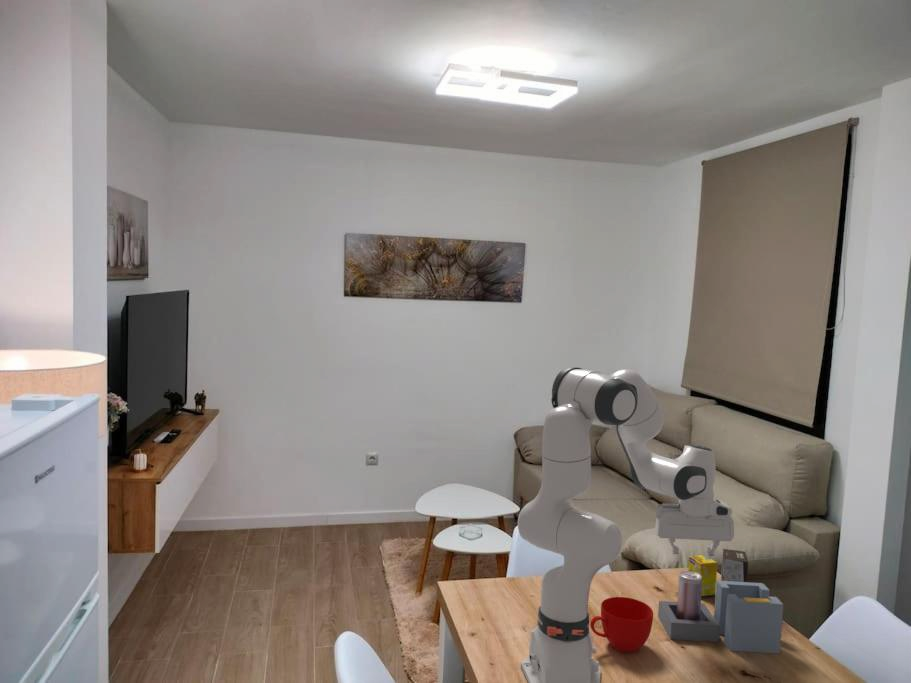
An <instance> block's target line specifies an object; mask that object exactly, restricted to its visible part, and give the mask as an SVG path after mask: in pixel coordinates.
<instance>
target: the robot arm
mask: <svg viewBox="0 0 911 683" xmlns="http://www.w3.org/2000/svg"><path fill="white" fill-rule="evenodd" d="M551 405H552V409H551V410H549V411H548V412H547V414H546V415H545V418H544V423H543V430H542V441H541V456H542V458H541V460H542V462H541V464H542V466H541V467H542V472H541V474H542V476H541V485H540V488H539V491H538V493H537V495H536V496H535V498H533V500H530V501H529V502H528V503H526V504H525V505H524V506H523V507H522V508H521V510H520V511H519V514H518V518H517V530H518V533H519V535H520V537H521V538H522V539H523V540H524V541H526V542H528V543H529V544H532V545H533V546H535V547H536V548H538V549H543V550H545V551H547V552H548V551H549V552H551V553H554V554H558V555H561V556H563V564H562V565H559V566H556V567H552V568H551V569H549V570H548V571H546V573H545V574H544V576H543V577H542V579H541V590H540V606H539V607H538V612H537V626H536V627H535V628H533V629H532V630H531V631H530V639H529V641H530V642H529V650H528V652H529V653H528V658H527V657H526V658H524V659H522V660H521V662H520V668H521V669H522V672H523V675H524V676H525V679H526V681H527V683H601V674H602V672H601V671H602V670H601V666H600V664H599V662H600V661H599V660H596V659H594V658H592V657H593V654H597V647H595V646H594V645H593V644H594V643H593V642H594V635H593V634H592V633H591V632H590V613H589V611H588V609H589V607H588V606H589V598H590V591H591V585H592V582H593V579H594V578H595V576H596V574H597V573H598V572H599V571H600V570H601V569H602V568H604V567H606V566H608V565H610V564H612V563H613V562H614V561H615V560H616V559H618V556H619V555H620V553H621V550H622V546H623V536H622V533H621V530H620V528H619V526H618V524H617V523H615V522H614V521H612V520H610V519H608V518H605V517H603V516H601V515H599V514H596V513H592V512H588V511H584V510H580V509H578V508H577V509H576V508H573V507H572V504H571V500H573V499H575V498H579V497H580V496H583V495H585V494H586V492H587V491H588V490H589V488H590V487H591V485H592V459H591V458H592V454H591V453H592V451H591V450H592V449H591V439H590V438H591V437H590V430H591V427H592V425H593V423H594V422H599V423H602V424H604V425H606V426H607V425H608V426H616V430H615V431H616V433H617V434H616V435H617V438H618V440H619V443H620V445H621V447H622V450H623V452H624V454H625V457H626V459H627V462H628V464H629V468H630V475H631V478H632V481H633V483H634V484H635V486H636V487H638V488H639V489H640V490H641V489H642V490H646V491H651V492H653V493H654V492H655V493H657V494H661V495H662V496H663V495H664V496H666V497H670V498H673V499H676V500H678V503H667V502H663V503H661V504H659V505H658V506H656V508H655V516H656V520H655V526H654V532H655V534H656V535H657V536H658V537H659V538H660V539H667V540H668V542H669V544H670V547H671V550H670V551H671V554H672V555H679V554H680V553H679V551H680V547H679V546H677V545H675V544H674V543H676V540H692V541H693V540H697V541H711V544H710V546H709V547H706V556H707V557H715V553H716V552H715V551H716V550H717V548H718V547H719V546H720V543H721V542H732V540H733V539H734V538H735V537H734V536H735V524H734V519H733V517H732V514H733V510H732V508H731V506H730V505H728V504H727V503H726V502H725V501H723V500H720V499H717V498H715V493H714V484H715V481H716V457H715V452H714V450H712V449H711V448H709V447H706V446H702V445H697V444H693V443H690V444H689V443H688V444H685V445H684V448H683V451H682V454H681V455H679V457H677V458H675V459H674V458H669V457H666V456H662V455H659V454H657V453H654V452H652V451H651V450H650V449H649V448H648V445H647V443H646V442H648V441H650V440H652V439H653V438H655V437H656V436H657V435H658V434H659V433H660V432H661V430H662V428H663V427H664V424H665V421H666V420H665V419H666V418H665V413H664V410H663V407H662V405H661V404H660V402H659V400H658V398H657V396H656V395H655V392H654V391H653V390H652V388H651V387H650V386H649V384H648V383H647V382H646V381H645V379H644V378H643V377H642V376H641V375H640V374H639V373H638V372H637V371H636V370H632V369H629V368H628V369H627V368H624V369H619V370H617V371H614V372H613V373H611V374H610V375H608V374H605V373H603V372H600V371H597V370H593V369H592V370H591V369H584V368H581V367H567V368H564V369H562V370H560V371H559V372H558V374H557V375H556V377H555V378H554V380H553V383H552V389H551Z"/></svg>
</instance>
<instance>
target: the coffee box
mask: <svg viewBox="0 0 911 683" xmlns="http://www.w3.org/2000/svg"><path fill="white" fill-rule="evenodd" d="M748 571H749V560H748V557H747V553H746V551H744V550H743V551H742V550H736V549H725V548H723V549H722V559H721V574H720V581H733V582H748Z"/></svg>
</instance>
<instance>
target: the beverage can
mask: <svg viewBox="0 0 911 683" xmlns="http://www.w3.org/2000/svg"><path fill="white" fill-rule="evenodd" d="M701 592H702V577H701V575H699V574H698V573H695V572H691V571H688V570H685V571H684V570H683V571H680V573H679V576H678V587H677V601H676V602H677V614H676V619H679V620H695V621H700V607H701V602H702V598H701Z"/></svg>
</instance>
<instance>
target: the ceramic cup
mask: <svg viewBox="0 0 911 683" xmlns="http://www.w3.org/2000/svg"><path fill="white" fill-rule="evenodd" d="M653 620H654V611H653V609H652V607H651V606H649V605H648V604H647V603H645V602H643V601H641V600H638V599H635V598H632V597H625V596H612V597H608V598H605V599H604V600H602V602H601V604H600V615H597V616H594V617H592V619H591V620H590V622H589V627H590V629H591V631H592V632H593V633H594V634H595V635H597V636H598V637H602V638H606V639H607V640H608V642H609V643H610V645H611V646H612V647H613V649H615V650H616V651H619V652H621V653H628V654H629V653H631V654H632V653H635V652H637V651H638V650H639V649H640V648H642V646H644V644H646V642H647V641H648V639H649V636H650V635H651V631H652V626H653ZM597 621H601V626H602V631H603V632H599V631H597V630H596V629H595V624H596V622H597Z"/></svg>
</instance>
